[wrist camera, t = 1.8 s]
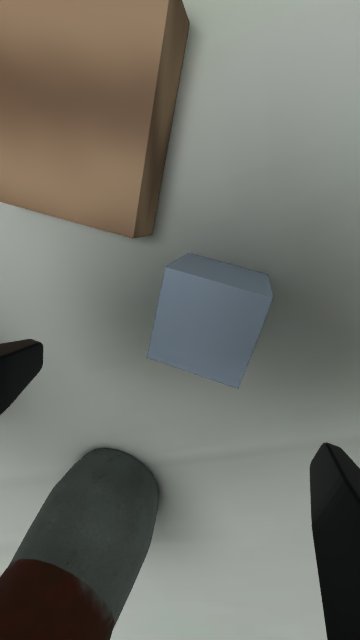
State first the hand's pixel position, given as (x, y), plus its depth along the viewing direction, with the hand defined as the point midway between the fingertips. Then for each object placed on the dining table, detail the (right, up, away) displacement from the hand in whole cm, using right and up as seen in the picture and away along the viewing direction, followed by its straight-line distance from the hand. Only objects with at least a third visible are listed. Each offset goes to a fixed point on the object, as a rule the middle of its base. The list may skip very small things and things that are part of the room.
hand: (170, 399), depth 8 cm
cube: (+3, +4, +9) cm, 11 cm away
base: (-5, +14, +7) cm, 16 cm away
